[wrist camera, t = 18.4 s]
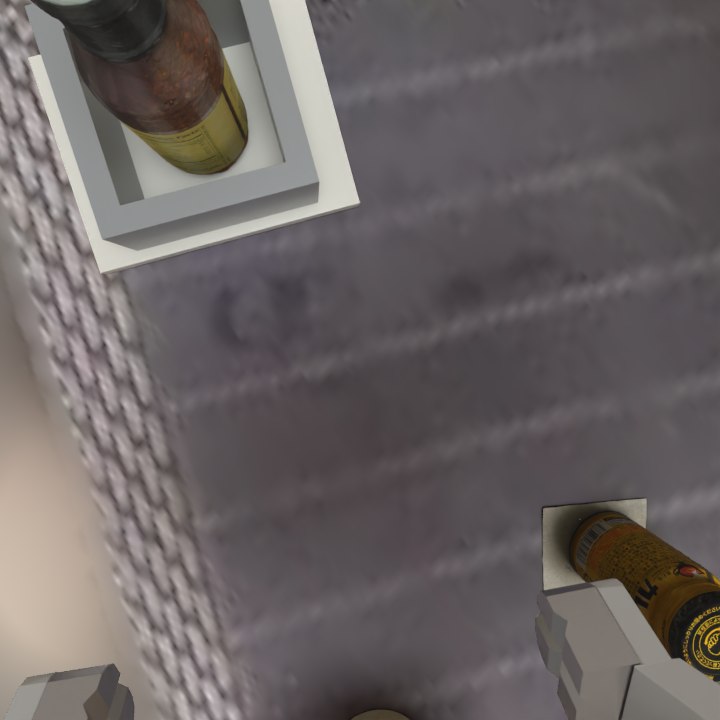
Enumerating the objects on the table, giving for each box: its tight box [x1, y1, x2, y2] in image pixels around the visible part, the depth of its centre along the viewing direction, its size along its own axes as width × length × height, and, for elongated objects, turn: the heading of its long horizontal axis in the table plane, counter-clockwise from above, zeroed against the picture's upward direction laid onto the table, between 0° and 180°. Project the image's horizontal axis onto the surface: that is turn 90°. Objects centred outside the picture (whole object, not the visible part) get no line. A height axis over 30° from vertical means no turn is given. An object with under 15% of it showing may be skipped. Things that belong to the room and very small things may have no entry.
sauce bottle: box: [31, 0, 248, 175], centre depth 25 cm, size 7×6×20 cm
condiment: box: [543, 499, 720, 682], centre depth 36 cm, size 7×8×12 cm
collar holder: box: [25, 0, 360, 274], centre depth 32 cm, size 18×14×7 cm
